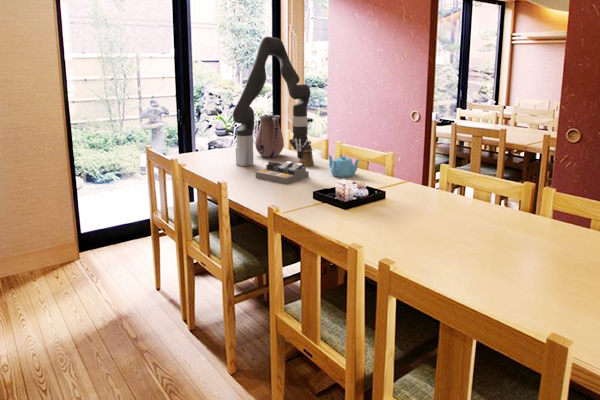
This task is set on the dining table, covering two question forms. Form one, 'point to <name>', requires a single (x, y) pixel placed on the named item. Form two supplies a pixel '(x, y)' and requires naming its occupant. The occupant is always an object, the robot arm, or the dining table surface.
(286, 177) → the switch unit
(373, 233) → the dining table surface
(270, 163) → the rocker
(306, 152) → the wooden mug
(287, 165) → the rocker
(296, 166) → the rocker
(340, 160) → the teapot
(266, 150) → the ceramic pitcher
